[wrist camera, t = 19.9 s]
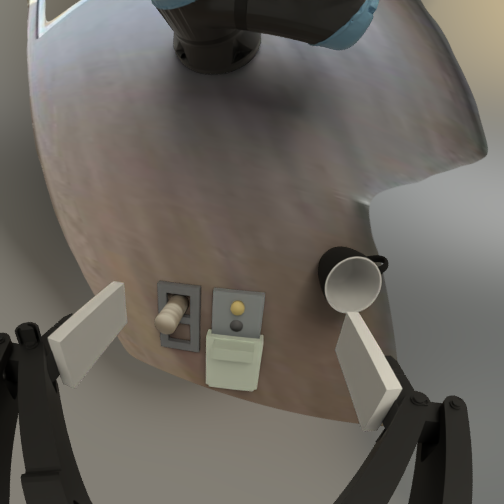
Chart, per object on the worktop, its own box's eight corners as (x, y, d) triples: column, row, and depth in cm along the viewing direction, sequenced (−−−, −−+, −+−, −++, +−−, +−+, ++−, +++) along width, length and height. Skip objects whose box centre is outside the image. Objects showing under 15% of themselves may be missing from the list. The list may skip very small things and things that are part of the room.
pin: (171, 291, 50) (154, 312, 41) (189, 295, 50) (176, 317, 41) (170, 308, 51) (154, 331, 42) (188, 312, 51) (175, 336, 42)
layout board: (214, 287, 49) (212, 293, 46) (264, 292, 49) (265, 298, 46) (212, 342, 52) (210, 350, 50) (258, 347, 52) (257, 355, 49)
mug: (319, 295, 49) (332, 322, 39) (306, 249, 47) (317, 268, 37) (379, 273, 47) (402, 295, 38) (369, 228, 45) (394, 241, 35)
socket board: (159, 280, 49) (157, 282, 48) (201, 285, 49) (199, 288, 48) (162, 342, 53) (161, 346, 52) (200, 348, 53) (199, 352, 52)
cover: (208, 329, 50) (203, 345, 44) (263, 335, 49) (263, 351, 44) (207, 378, 53) (203, 395, 48) (256, 384, 53) (255, 401, 48)
